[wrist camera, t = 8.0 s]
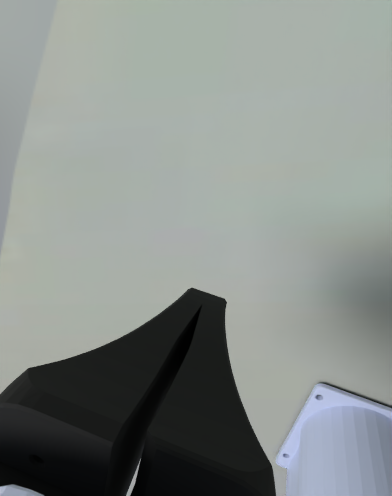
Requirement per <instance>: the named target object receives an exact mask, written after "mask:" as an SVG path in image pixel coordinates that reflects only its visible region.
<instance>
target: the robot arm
mask: <svg viewBox="0 0 392 496" xmlns="http://www.w3.org/2000/svg"><path fill="white" fill-rule="evenodd" d="M226 304H227V302H226V300H225V299H224V298H221V297H218V296H215V295H212V294H209V293H206V292H203V291H200V290H197V289H194V288H190V289H188V290H187V291H186V292H185V293H184V294H183V295H182V296H181V297H180V298H179V299H178V300H176V301H175V302H174V303H173V304H172V305H170V306H169V307H168V308H166V309H165V310H164V311H162V312H161V313H160V314H158V315H157V316H156V317H154V318H153V319H151V320H150V321H148V322H146V323H145V324H143V325H142V326H140V327H139V328H137V329H135V330H134V331H132V332H130V333H128V334H126V335H124V336H123V337H121V338H119V339H117V340H115V341H112V342H110V343H108V344H106V345H104V346H101V347H99V348H96V349H94V350H91V351H89V352H86V353H83V354H80V355H77V356H74V357H71V358H68V359H65V360H61V361H57V362H53V363H49V364H45V365H41V366H37V367H32V368H28V369H27V370H26V371H25V372H24V373H22V374H21V375H20V376H19V377H18V378H16V379H15V380H14V381H13V382H12V383H11V384H10V385H9V386H8V387H7V388H6V389H5V390H4V391H3V392H2V393H1V394H0V496H126V494H127V491H128V489H129V486H130V484H131V481H132V479H133V476H134V474H135V471H136V469H137V466H138V464H139V461H140V459H141V461H140V465H139V470H138V474H137V478H136V483H135V486H134V488H133V490H132V493H131V495H130V496H276V492H275V482H274V475H273V469H272V465H271V463H270V462H269V460H268V458H267V456H266V454H265V453H264V451H263V449H262V447H261V445H260V443H259V441H258V439H257V437H256V435H255V433H254V431H253V429H252V426H251V424H250V422H249V420H248V417H247V414H246V412H245V409H244V407H243V404H242V402H241V399H240V396H239V393H238V390H237V387H236V384H235V380H234V377H233V373H232V369H231V364H230V360H229V354H228V348H227V341H226V331H225V309H226ZM317 395H321V396H317ZM141 456H142V457H141ZM276 463H277V464H278V465H279V466H281V467H284V468H286V469H287V484H286V496H392V408H390V407H387V406H384V405H381V404H378V403H376V402H373V401H370V400H367V399H365V398H362V397H359V396H356V395H353V394H351V393H348V392H345V391H342V390H340V389H337V388H334V387H331V386H329V385H326V384H322V383H320V384H316V385H315V386H314V388H313V390H312V392H311V394H310V396H309V397H308V399H307V401H306V403H305V405H304V407H303V408H302V410H301V412H300V414H299V416H298V418H297V419H296V421H295V423H294V425H293V427H292V429H291V430H290V432H289V434H288V436H287V438H286V440H285V441H284V443H283V445H282V447H281V449H280V451H279V452H278V454H277V456H276Z"/></svg>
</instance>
